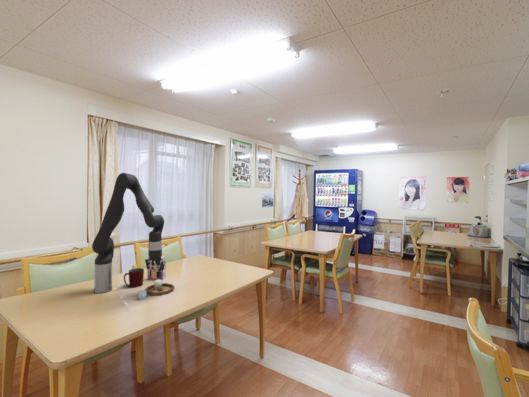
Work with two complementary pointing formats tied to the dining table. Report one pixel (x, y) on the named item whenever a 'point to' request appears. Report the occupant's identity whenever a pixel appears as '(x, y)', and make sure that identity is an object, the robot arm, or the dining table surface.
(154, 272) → the bead terracotta
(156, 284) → the bead sage
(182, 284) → the dining table surface
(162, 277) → the candy bar box
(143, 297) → the bead blue
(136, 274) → the mug
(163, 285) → the groove tray
